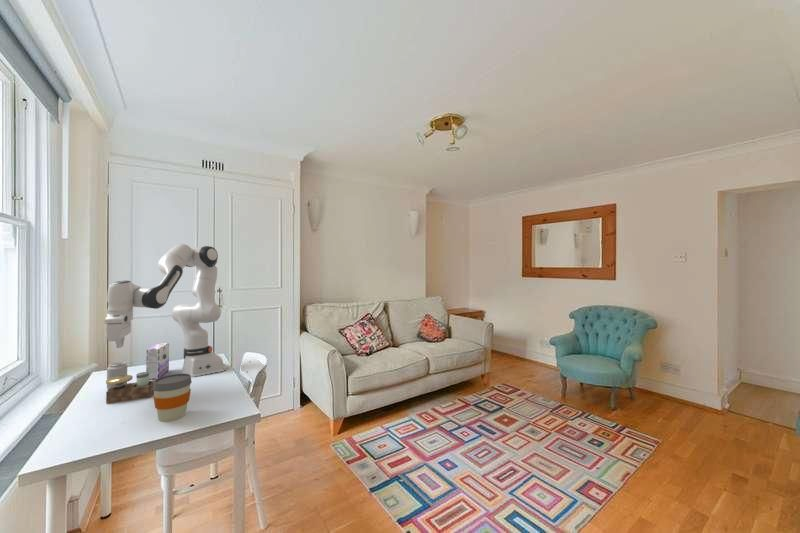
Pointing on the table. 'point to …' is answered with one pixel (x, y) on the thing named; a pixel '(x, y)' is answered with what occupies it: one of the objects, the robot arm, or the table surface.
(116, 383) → the gold rounded dome
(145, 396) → the housing
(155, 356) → the candy box
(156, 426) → the table surface
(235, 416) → the table surface
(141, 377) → the cartridge
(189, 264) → the robot arm
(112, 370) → the can
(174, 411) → the reusable coffee cup
